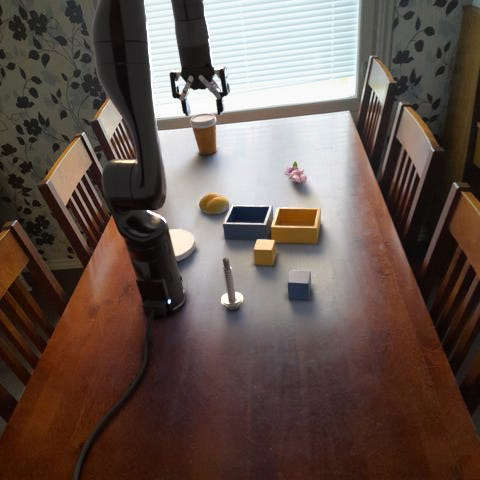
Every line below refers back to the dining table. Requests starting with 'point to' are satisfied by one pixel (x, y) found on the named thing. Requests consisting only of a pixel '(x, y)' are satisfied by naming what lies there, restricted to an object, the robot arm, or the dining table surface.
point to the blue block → (299, 284)
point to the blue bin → (248, 222)
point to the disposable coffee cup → (205, 132)
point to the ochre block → (264, 252)
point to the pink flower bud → (296, 173)
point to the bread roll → (214, 204)
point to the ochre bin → (296, 225)
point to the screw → (230, 288)
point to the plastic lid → (182, 243)
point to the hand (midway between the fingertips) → (204, 114)
